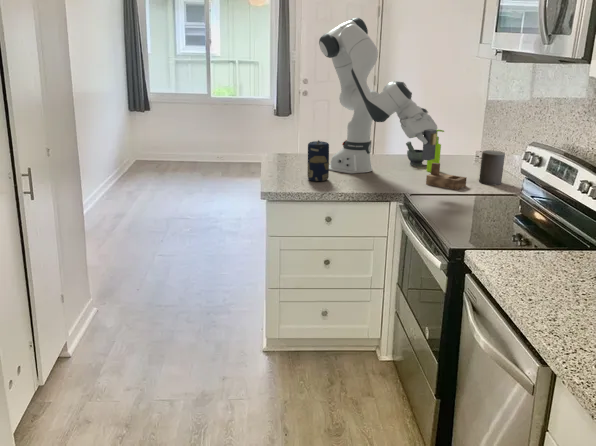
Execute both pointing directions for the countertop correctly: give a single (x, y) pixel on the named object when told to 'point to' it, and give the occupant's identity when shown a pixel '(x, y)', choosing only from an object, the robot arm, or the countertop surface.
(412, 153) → the mortar and pestle
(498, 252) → the countertop surface
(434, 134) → the lever cap
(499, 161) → the pillar candle
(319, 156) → the canister
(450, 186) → the hand plane
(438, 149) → the soap dispenser
